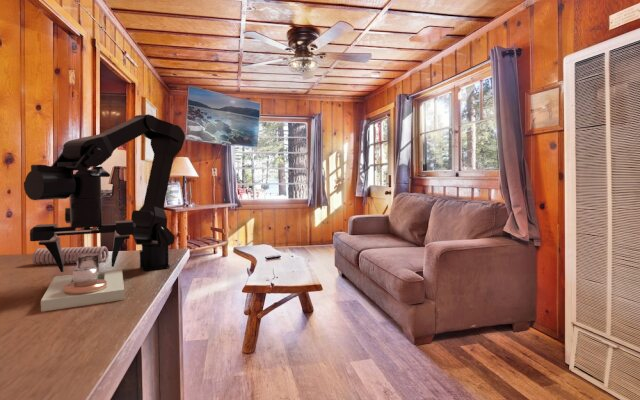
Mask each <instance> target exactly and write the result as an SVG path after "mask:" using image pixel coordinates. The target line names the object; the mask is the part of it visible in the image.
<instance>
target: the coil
mask: <svg viewBox="0 0 640 400" xmlns="http://www.w3.org/2000/svg"><path fill="white" fill-rule="evenodd" d="M61 252H62V257H63V263H64V265H65V264H67V265H69V263H70V264H72V263H73V264H77V256H79V255H84V254H99V263H107V262H108V260H109V256H110V255H109V250H108V248H107V246H104V245H103V246H75V247H73V246H72V247H70V246H69V247H61ZM31 259H32V264H34V265H35V266H37V265H38V266H40V265H57V263H56V261H55V259H54V258H53V256H52V254H51V253H50V252H49V250H48V249H47V248H45V247H43V248H42V247H40V248H36V249H35V250H34V252H33V253H32V258H31ZM106 261H107V262H106Z"/></svg>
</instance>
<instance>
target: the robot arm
mask: <svg viewBox="0 0 640 400" xmlns="http://www.w3.org/2000/svg"><path fill="white" fill-rule="evenodd" d="M142 135H143V136H144V138H146V139H147V140H150V147H151V149H152V152H153V159H152V162H151V163H152V164H151V168H150V172H149V178H148V182H147V187H146V191H145V196H144V199H143V200H144V201H143V204H142V206H141V207H140V209H139V210H137V209H136V210H135V209H134V210H133V211H132V213H131V219H130V220H128V219H127V220H115V223H114V224H113V223H112V224H103V223H104V216H103V209H102V208H103V206H102V202H103V201H102V199H103V198H102V179H101V178H109V177H111V174H110V173H109V172H108V171H107V170H105V169H104V168H103V166H100V165H103V163H105V162H106V161H108V159H110V158H111V157H112V155H113V153H114V151H115V150H117V149H118V148H120V147H122V146H123V145H126V144H127V143H129V142H131V141H133V140H135V139H137V138H138V137H140V136H142ZM185 135H186V134H185V132H184V130H183V129H182V127H180V126H179V125H178V124H174V123H171V122H169V121H166V120H162V119H160V118H157V117H156V116H154V115H151V114H150V113H148V114H138V115H135V116H133V117H132V118H130V119H128V120H126V121H124V122H122V123H120V124H118V125H116V126H114V127H111V128H109V129H107V130H105V131H102V132H100V133H99V134H95V135H89V136H88V135H87V136H84V137H83V136H82V137H80V138H76V139H71V140H67V141H66V142H65V143H64V144H63V145H62V146H63V148H62V152H61V153H60V154H59V156H58V157H57V158H56V160H55V161H54V162H53V163H52V164H51V165H48V164H47V165H46V164H30V171H29V172H28V173H27V174H26V177H25V178H24V179H25V181H24V182H23V189H24V193H25V194H26V197H27V198H28V199H29V200H31V201H46V200H47V201H48V200H49V201H50V200H51V201H52V200H65V199H68V198H69V207H66V208H65V209H64V221H65V223H66V224H70V226H58V223H45V224H43V223H42V224H36V225H34V226H33V227H31V229H30V230H29V242H38V246H45V247H46V248H47V249H48V250H49V252H50V253H51V254H52V256H53V258H54V259H55V261H56V263H57V264H56V265H57V268H58V269H59V271H60V273H64V271H65V269H64V268H65V264H64V263H63V257H62V252H61V248H62V247H61V237H62V236H63V237H64V236H75V235H76V236H77V235H93V234H95V235H96V234H107V233H114V236H113V245H112V254H111V268H114V267H115V264H116V261H117V259H118V258H117V257H118V256H119V253H120V252H119V251H120V250H121V248H122V246H123V243H124V241H125V240H129V239H131V236H132V237H133V239H134V242H135V245H138V246H141V249H140V250H139V251H138V252H139V267H140V268H141V269H142V271H153V270H160V269H161V270H162V269H169V268H171V265H170V263H169V260H170V258H169V256H170V255H169V246H171V245H174V244H175V243H174V242H175V239H176V236H175V235H174V233H172V231H171V230H170V229H169V228H168V217H167V214H166V211H165V209H164V208H165V202H166V197H167V191H168V187H169V182H170V179H171V178H170V177H171V173H172V168H173V163H174V160H175V157H177V156H178V154H179V153H180V151H182V149H183V145H184V142H185V139H186V138H185V137H186V136H185ZM92 167H93V168H92ZM90 168H92V169H90ZM74 171H76V172H75V173H74ZM77 229H78V230H77ZM130 235H131V236H130ZM59 236H60V237H59Z"/></svg>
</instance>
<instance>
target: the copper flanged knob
mask: <svg viewBox="0 0 640 400" xmlns="http://www.w3.org/2000/svg"><path fill="white" fill-rule="evenodd" d="M72 275H73V283H69V284H67V285H65V286H64V293H65V294H68V295H82V294H89V293H94V292H98V291H101V290H103V289H105V288H106V287H107V283H106V280H102V279H98V276H97V267H82V268H77V267H76V268H74V269H73V270H72Z"/></svg>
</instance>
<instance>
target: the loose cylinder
mask: <svg viewBox="0 0 640 400" xmlns="http://www.w3.org/2000/svg"><path fill="white" fill-rule="evenodd" d="M82 267H97V276H98V279H99V272H100V262H99V254H84V255H79V256H77V263H76V269H77V268H82Z"/></svg>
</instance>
